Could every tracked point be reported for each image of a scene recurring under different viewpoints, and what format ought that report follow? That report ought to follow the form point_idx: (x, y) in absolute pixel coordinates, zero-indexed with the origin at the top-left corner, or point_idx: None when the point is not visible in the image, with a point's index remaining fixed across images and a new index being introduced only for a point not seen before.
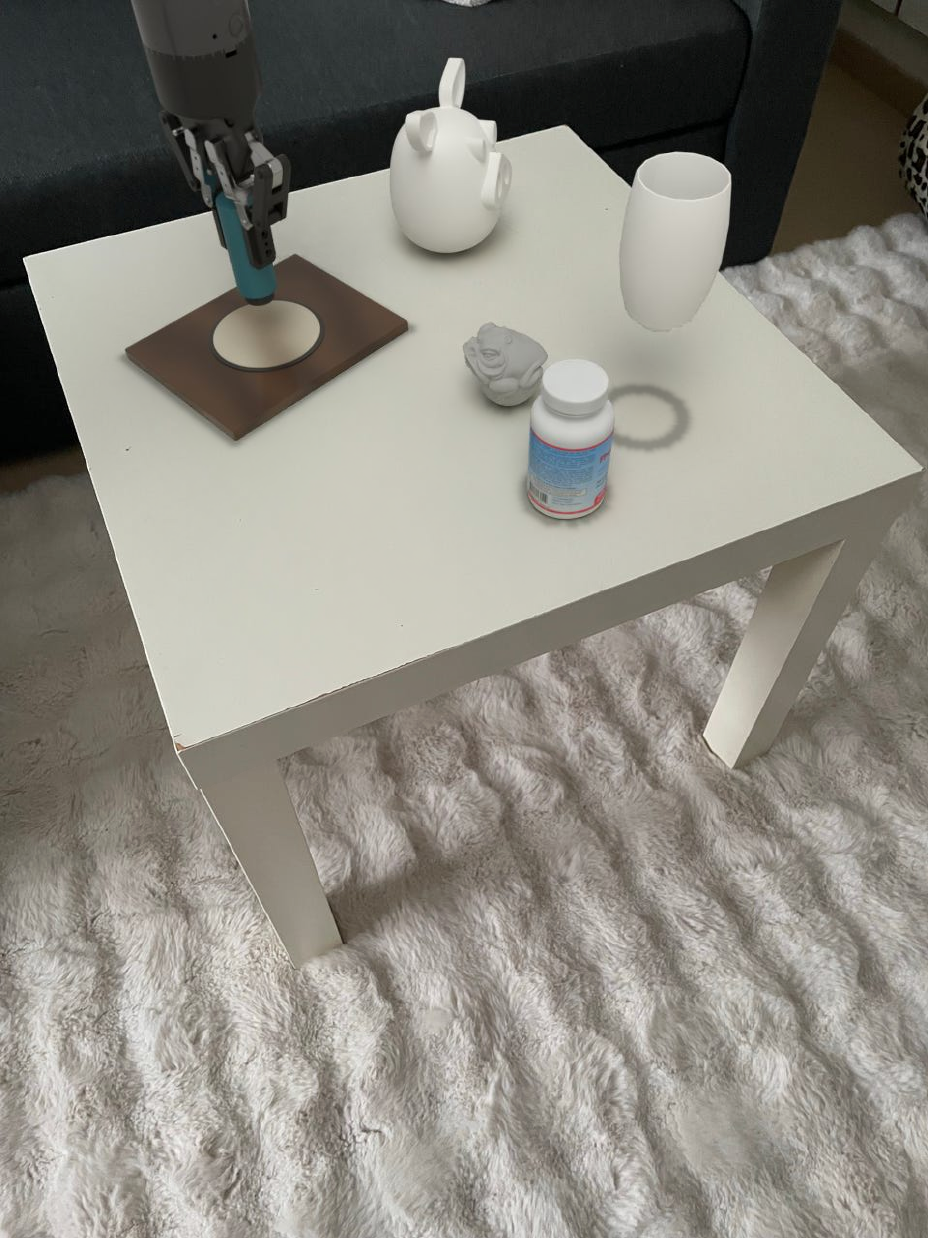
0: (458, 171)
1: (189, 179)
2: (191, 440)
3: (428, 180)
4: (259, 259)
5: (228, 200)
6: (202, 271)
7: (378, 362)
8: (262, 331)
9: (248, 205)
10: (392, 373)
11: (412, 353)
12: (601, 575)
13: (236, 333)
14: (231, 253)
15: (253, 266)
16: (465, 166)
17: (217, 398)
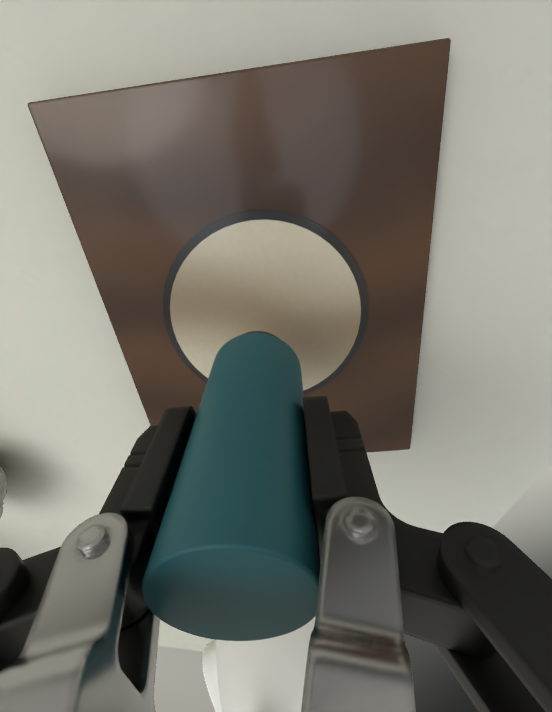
0: (225, 700)
1: (505, 573)
2: (85, 14)
3: (250, 670)
4: (151, 435)
5: (237, 580)
6: (522, 329)
7: (128, 400)
8: (273, 317)
9: (150, 603)
10: (96, 401)
11: (123, 437)
12: None
13: (300, 279)
14: (237, 398)
15: (176, 407)
16: (223, 710)
17: (148, 137)
